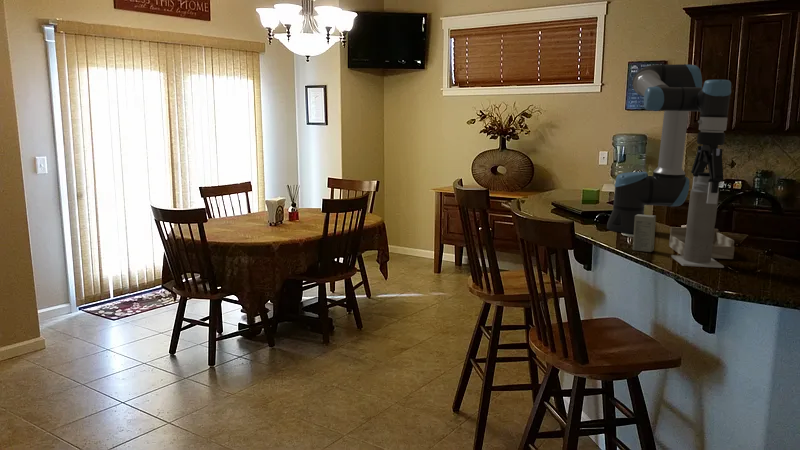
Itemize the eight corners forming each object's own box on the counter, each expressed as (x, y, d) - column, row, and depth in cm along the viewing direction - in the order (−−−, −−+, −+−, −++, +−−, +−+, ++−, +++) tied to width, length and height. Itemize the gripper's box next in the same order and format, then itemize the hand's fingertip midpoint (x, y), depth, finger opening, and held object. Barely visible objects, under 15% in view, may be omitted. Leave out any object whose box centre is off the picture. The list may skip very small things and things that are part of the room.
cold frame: (668, 246, 214) (670, 226, 213) (715, 248, 212) (717, 228, 211) (683, 256, 199) (685, 235, 198) (733, 258, 197) (735, 238, 196)
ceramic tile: (671, 256, 199) (671, 254, 198) (709, 258, 197) (709, 256, 197) (682, 265, 187) (683, 263, 187) (723, 267, 185) (723, 266, 185)
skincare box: (653, 250, 207) (657, 215, 205) (651, 252, 204) (654, 217, 201) (634, 247, 211) (637, 213, 209) (631, 250, 207) (634, 215, 205)
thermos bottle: (706, 258, 195) (716, 171, 190) (714, 264, 187) (724, 174, 182) (680, 256, 197) (689, 170, 191) (686, 262, 189) (696, 173, 184)
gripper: (685, 129, 197) (678, 193, 201) (714, 133, 173) (705, 206, 177) (709, 130, 196) (702, 194, 200) (741, 133, 172) (732, 207, 176)
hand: (703, 200), depth 188 cm, fingers open, 13 cm apart
